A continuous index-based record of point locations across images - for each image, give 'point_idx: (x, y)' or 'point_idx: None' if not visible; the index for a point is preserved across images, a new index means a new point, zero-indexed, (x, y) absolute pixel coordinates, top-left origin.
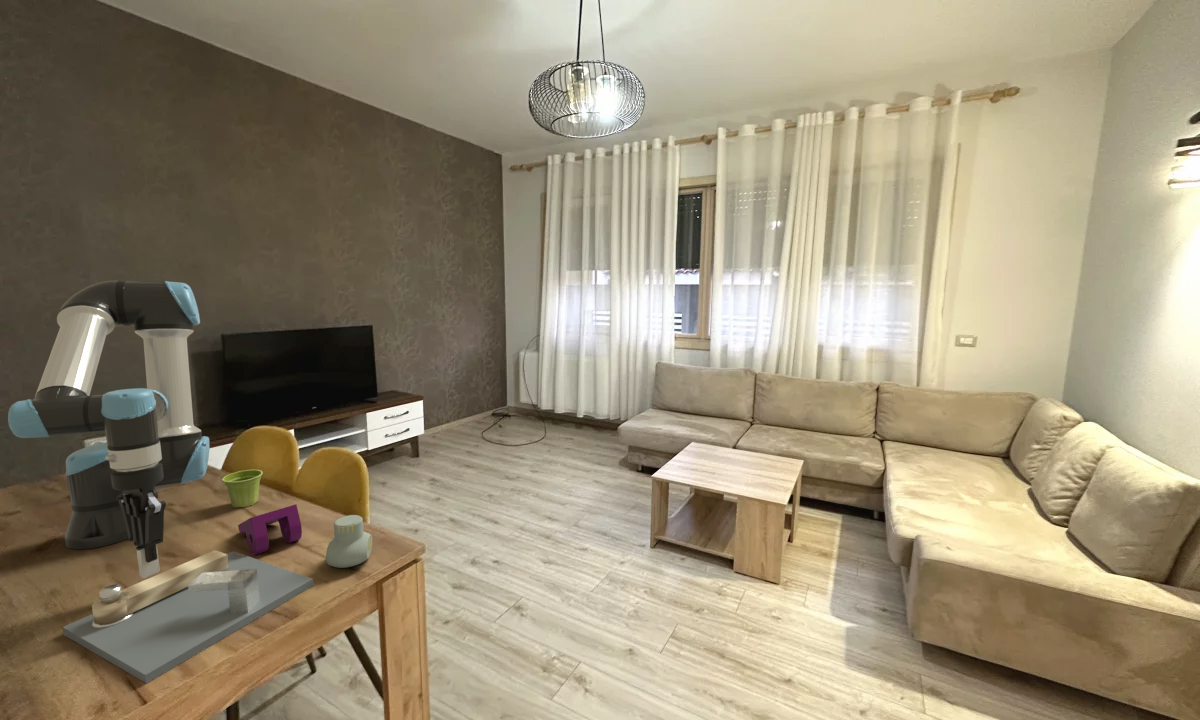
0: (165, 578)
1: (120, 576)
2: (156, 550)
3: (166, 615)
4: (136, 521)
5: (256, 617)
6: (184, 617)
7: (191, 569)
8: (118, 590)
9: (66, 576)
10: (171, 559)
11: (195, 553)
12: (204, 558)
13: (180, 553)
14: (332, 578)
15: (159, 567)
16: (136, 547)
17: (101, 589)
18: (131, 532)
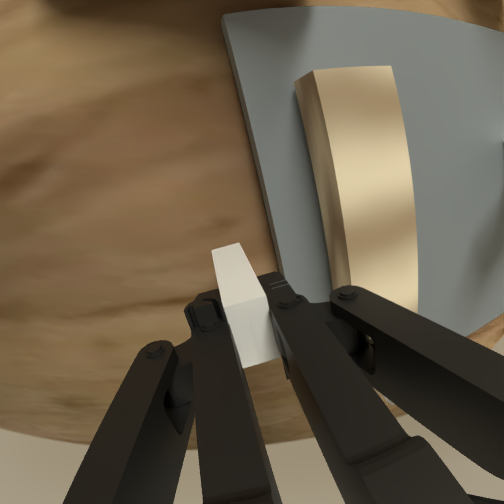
0: (396, 258)
1: (73, 304)
2: (291, 288)
3: (448, 259)
4: (274, 479)
5: None
6: (477, 235)
7: (406, 185)
8: None
9: (4, 376)
10: (54, 177)
11: (69, 109)
12: (359, 124)
13: (31, 149)
14: (495, 9)
15: (240, 247)
16: (288, 376)
17: (390, 402)
18: (189, 426)
